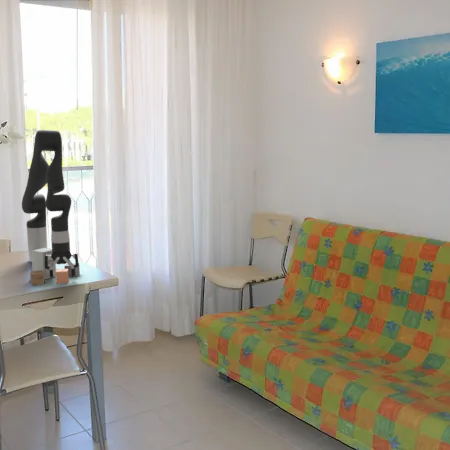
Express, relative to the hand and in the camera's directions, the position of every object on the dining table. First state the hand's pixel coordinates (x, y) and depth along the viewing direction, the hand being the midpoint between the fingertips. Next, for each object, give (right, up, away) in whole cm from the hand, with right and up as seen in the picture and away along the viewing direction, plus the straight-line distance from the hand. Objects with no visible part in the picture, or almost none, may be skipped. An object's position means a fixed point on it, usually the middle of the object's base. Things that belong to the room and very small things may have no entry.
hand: (62, 277), depth 263 cm
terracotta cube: (0, -2, 0) cm, 2 cm away
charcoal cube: (+2, 0, +11) cm, 11 cm away
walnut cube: (-10, -2, -2) cm, 11 cm away
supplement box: (-10, -1, +7) cm, 12 cm away
